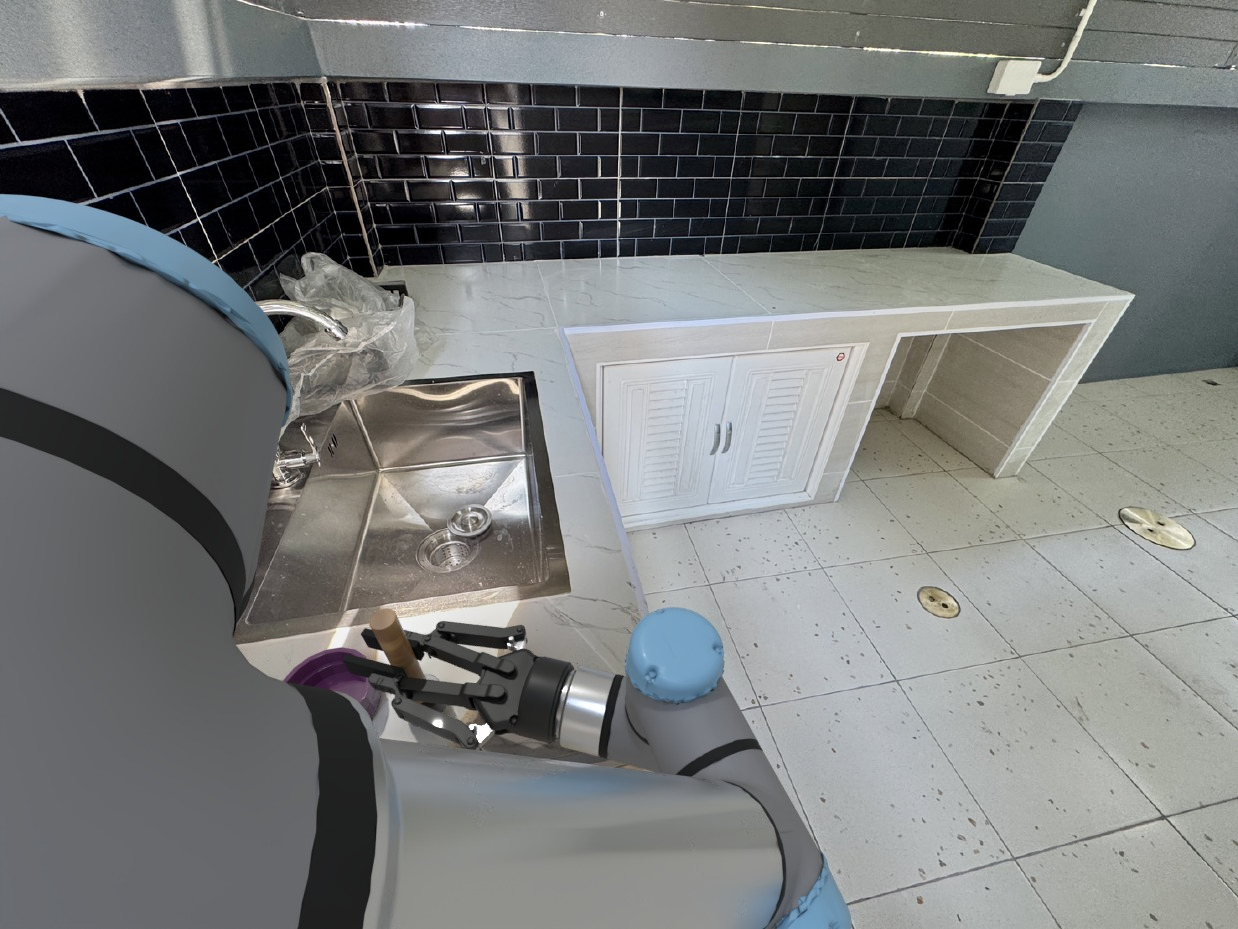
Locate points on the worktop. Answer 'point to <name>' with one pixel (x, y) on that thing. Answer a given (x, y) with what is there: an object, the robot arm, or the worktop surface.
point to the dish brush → (399, 648)
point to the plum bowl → (335, 677)
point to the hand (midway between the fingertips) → (358, 650)
